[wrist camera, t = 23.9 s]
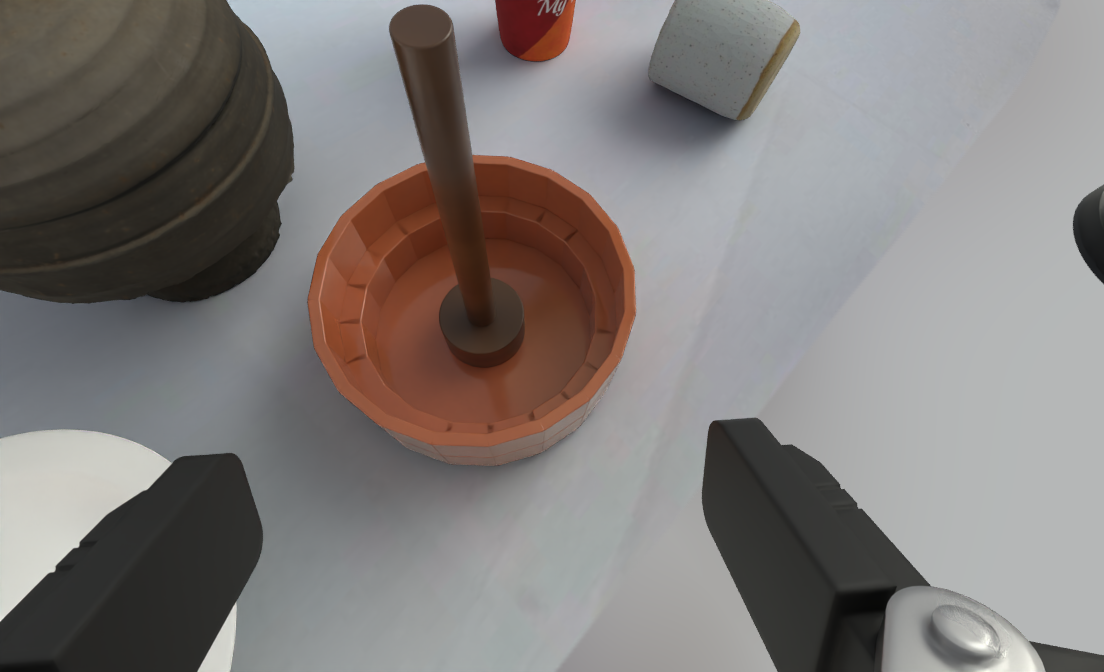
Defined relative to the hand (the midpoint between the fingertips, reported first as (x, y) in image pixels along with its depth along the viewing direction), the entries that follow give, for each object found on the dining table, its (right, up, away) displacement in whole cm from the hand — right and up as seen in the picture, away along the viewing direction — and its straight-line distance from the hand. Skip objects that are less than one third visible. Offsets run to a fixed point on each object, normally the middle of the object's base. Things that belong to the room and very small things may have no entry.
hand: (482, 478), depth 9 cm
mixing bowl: (-3, +3, +23) cm, 23 cm away
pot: (-22, +9, +25) cm, 35 cm away
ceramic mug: (+14, +22, +32) cm, 41 cm away
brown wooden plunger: (-3, +3, +23) cm, 23 cm away
